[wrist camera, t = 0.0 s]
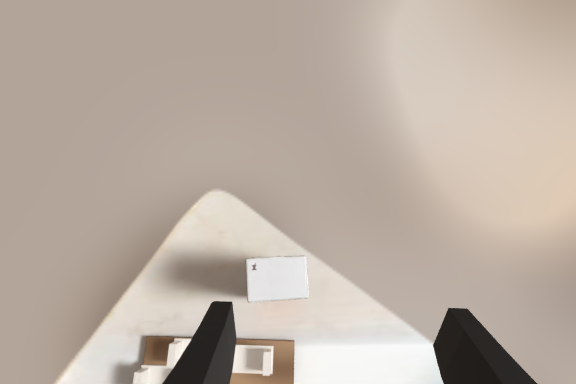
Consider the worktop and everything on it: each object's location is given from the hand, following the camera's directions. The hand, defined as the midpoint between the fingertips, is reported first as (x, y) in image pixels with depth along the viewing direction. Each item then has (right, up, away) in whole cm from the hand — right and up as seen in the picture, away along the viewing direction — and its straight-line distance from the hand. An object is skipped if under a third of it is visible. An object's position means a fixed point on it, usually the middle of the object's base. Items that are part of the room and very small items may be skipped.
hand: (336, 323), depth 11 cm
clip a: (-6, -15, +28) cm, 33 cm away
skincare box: (-3, -7, +32) cm, 33 cm away
